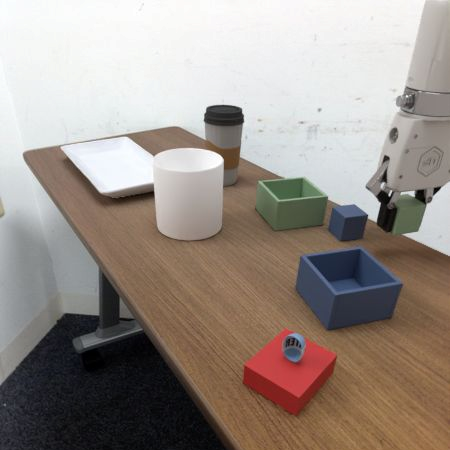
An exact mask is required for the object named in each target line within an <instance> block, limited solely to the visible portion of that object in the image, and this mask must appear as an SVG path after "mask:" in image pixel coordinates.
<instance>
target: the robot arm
mask: <svg viewBox="0 0 450 450" xmlns="http://www.w3.org/2000/svg"><path fill="white" fill-rule="evenodd" d="M411 54H412V55H411V59H410V64H409V68H408V72H407V77H406V81H405V85H404V89H403V92H402V95H398V96H397V97H396V99H395V106H396V107H398V108H399V110H398V111H396V112H395V114H394V116H393V117H392V120H391V123H390V125H389V128H388V130H387V133H386V136H385V139H384V141H383V142H384V143H383V145H382V148H381V152H380V155H379V158H378V159H379V160H378V162H377V163H378V164H377V169H376V171H375V173H374V174H373V175H372V177H371V178H370V179H369V180H368V181H367V183H366V184H365V189H366V190H368V191H369V192H370V193H371V194H372V195H373V196H374V197H375V199H377V202H379V204H380V205H379V210H378V213H377V218H376V226H377V227H379V228H380V229H381V230H383V231H384V232H385V233H390V232H391V231H392V227H393V223H394V219H395V216H396V212H397V209H396V208H395V207H394V206H395V205H396V202H397V200H398V198H399V196H400V195H402V194H401V193H406V192H414V193H413V194H414V196H412V197H414V198H416V199H417V200H419V201H421V202H422V203H424V204H425V205H426V208H425V211H424V215H423V218H424V216H425V212H426V209H427V207H428V204H430V203H432V201H433V199H434V196H435V195H436V194H437V193H438V192H440V191H441V189H442V188H443V187H444V186H446V185H447V184H448V183H449V182H450V0H425V1H424V5H423V8H422V11H421V16H420V19H419V24H418V29H417V33H416V37H415V42H414V47H413V50H412V53H411ZM383 183H384V184H383ZM382 184H383V185H382ZM381 186H382V187H381ZM389 196H390V197H389ZM423 218H422V221H421V224H420V227H421V226H422V222H423V220H424V219H423Z"/></svg>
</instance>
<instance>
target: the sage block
mask: <svg viewBox="0 0 450 450" xmlns="http://www.w3.org/2000/svg"><path fill="white" fill-rule="evenodd" d="M389 197H390V195H389ZM414 197H415V196H414ZM414 197H413V196H412V195H411V194H409V193H404V194H400V196H399V198H398V200H397V202H396V205H395V206H394V207H395V208H396V209H397V212H396V216H395V219H394V223H393V227H392V231H391V232H389V233H390V234H391V235H392V236H394V237H395V236H401V235H406V234H412V233H418V232H419V231H420V228H421V226H420V224H421V225H422V222H423V219H422V218H424V216H425V213H424V211H425V212H426V209H427V206H426V205H425V204H424V203H422V202H421V201H419V200H417V199H416V198H414ZM425 208H426V209H425ZM423 215H424V216H423ZM421 221H422V222H421Z"/></svg>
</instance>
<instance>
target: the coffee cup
mask: <svg viewBox="0 0 450 450" xmlns="http://www.w3.org/2000/svg"><path fill="white" fill-rule="evenodd" d="M203 122H204V133H205V140H204V143H205V150H209V151H212V152H215V153H217V154H219V155H220V156H221V157H222V158H223V160H224V171H223V187H229V186H233V185H234V184H236V181H237V180H238V174H239V173H238V171H239V166H240V160H241V159H240V157H241V151H242V138H243V130H244V129H243V127H244V123H245V114H244V113H243V108H242V107H240V106H237V105H232V104H213V105H209V106H206V107H205V112H204V113H203Z"/></svg>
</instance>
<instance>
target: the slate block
mask: <svg viewBox="0 0 450 450" xmlns="http://www.w3.org/2000/svg"><path fill="white" fill-rule="evenodd" d="M368 219H369V213H367V212H366V211H364V210H363V209H362V208H360V207H359V206H357V205H356V204H355V203H353V204H344V205H336V206H331V211H330V216H329V222H328V226H327V227H328V228H327V230H328V232H330V233H331V235H333V236H334V237H335V238H336V239H337V240H338V241H339V242H345V241H352V240H358V239H359V240H361V239H363V238H364V235H365V232H366V231H365V230H366V227H367V223H368Z"/></svg>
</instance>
